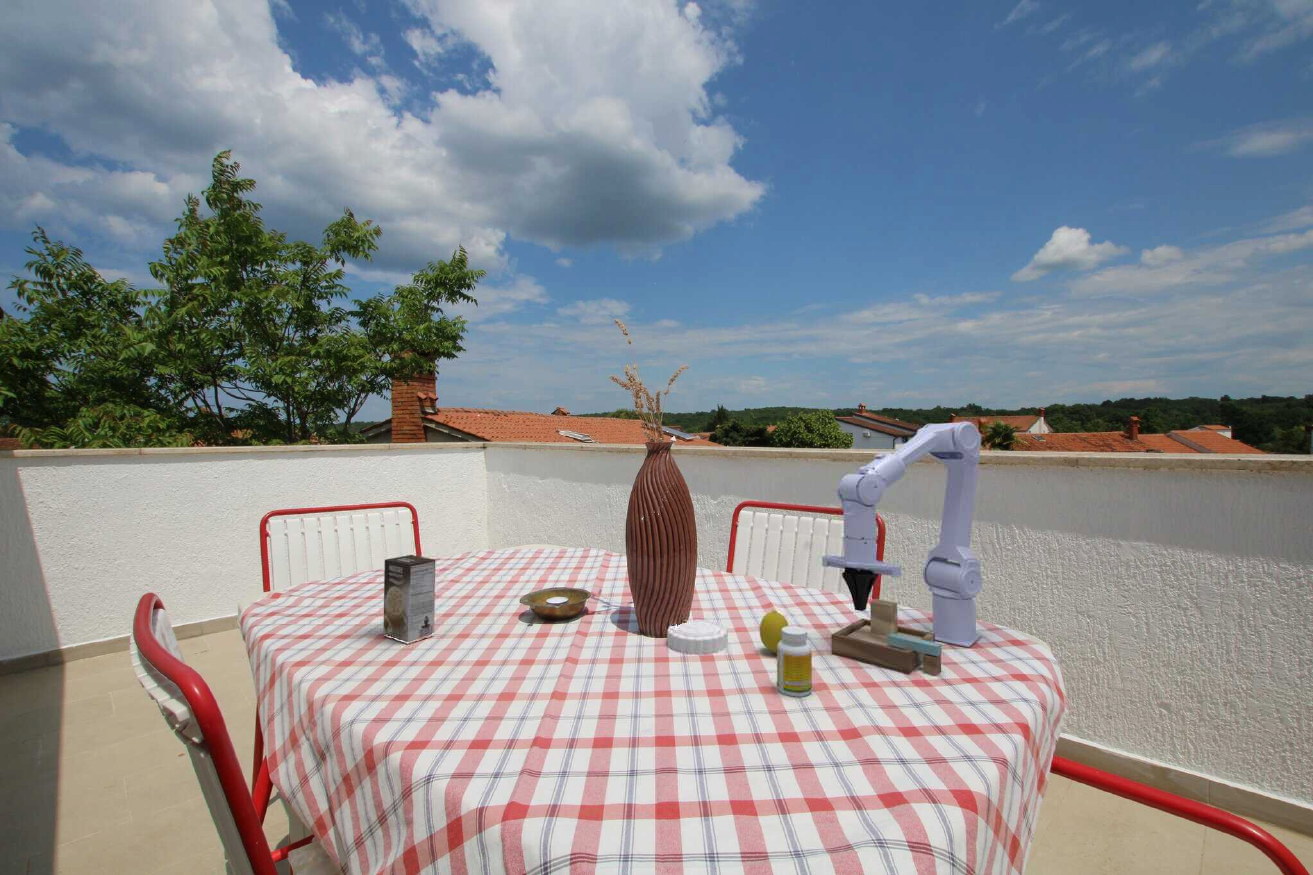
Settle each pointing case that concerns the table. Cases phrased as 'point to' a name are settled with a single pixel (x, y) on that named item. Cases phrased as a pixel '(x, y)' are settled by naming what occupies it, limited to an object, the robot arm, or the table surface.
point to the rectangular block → (914, 644)
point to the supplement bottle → (794, 662)
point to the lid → (880, 624)
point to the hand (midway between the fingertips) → (860, 609)
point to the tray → (885, 651)
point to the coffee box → (409, 597)
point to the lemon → (772, 630)
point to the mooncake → (697, 637)
